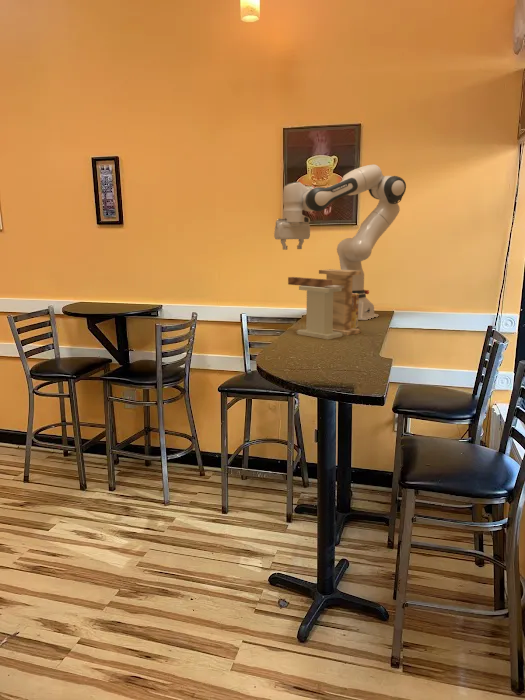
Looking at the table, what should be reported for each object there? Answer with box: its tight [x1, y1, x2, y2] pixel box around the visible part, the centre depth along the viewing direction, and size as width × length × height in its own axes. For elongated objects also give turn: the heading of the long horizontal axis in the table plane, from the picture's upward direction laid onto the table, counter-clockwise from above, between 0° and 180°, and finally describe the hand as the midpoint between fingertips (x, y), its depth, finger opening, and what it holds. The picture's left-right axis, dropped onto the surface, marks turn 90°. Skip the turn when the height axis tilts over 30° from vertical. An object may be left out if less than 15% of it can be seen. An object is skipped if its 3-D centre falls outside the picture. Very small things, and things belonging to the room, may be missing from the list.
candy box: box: [351, 293, 359, 329], centre depth 236 cm, size 9×4×15 cm, turn 63°
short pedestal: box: [296, 285, 343, 340], centre depth 218 cm, size 9×17×20 cm, turn 42°
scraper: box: [287, 276, 344, 289], centre depth 218 cm, size 27×6×3 cm, turn 42°
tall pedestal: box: [318, 268, 362, 336], centre depth 225 cm, size 9×17×26 cm, turn 42°
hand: (292, 249), depth 247 cm, fingers open, 8 cm apart
